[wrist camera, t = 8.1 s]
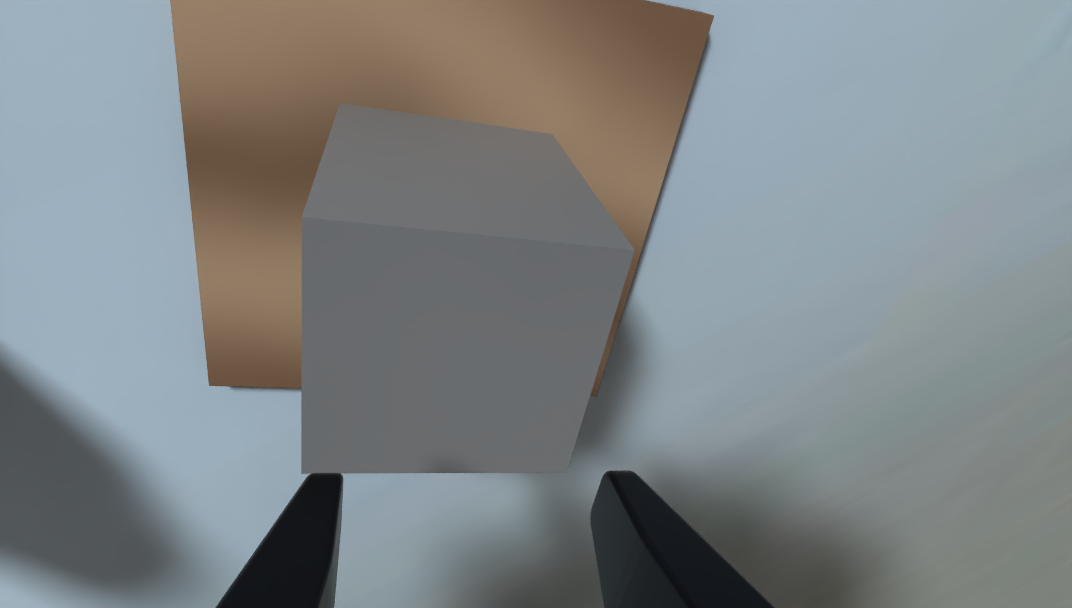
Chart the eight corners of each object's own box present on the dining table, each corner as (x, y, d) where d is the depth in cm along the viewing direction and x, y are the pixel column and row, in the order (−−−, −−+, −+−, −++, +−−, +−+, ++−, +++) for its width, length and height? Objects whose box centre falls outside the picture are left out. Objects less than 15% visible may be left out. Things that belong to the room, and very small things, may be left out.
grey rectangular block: (516, 305, 18) (566, 472, 13) (333, 292, 17) (301, 473, 11) (552, 133, 16) (634, 250, 10) (339, 102, 14) (302, 216, 9)
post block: (591, 385, 21) (645, 515, 16) (214, 372, 18) (149, 529, 13) (703, 12, 15) (836, 52, 11) (169, -101, 12) (26, -115, 7)
